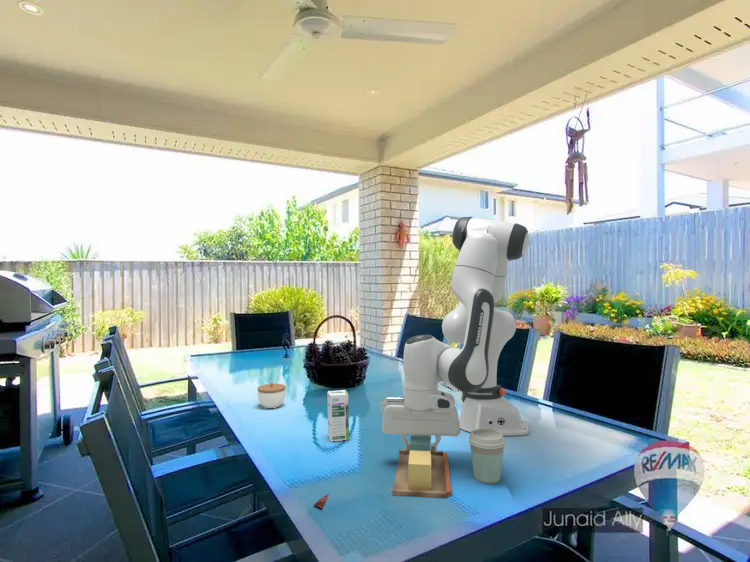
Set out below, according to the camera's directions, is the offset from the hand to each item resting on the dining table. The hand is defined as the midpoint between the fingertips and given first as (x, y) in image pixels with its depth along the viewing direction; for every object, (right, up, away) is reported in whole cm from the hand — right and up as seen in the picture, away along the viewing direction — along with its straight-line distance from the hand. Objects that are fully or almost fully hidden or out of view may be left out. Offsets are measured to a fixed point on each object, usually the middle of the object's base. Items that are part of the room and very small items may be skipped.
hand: (420, 450), depth 113 cm
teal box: (0, -3, 0) cm, 3 cm away
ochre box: (-1, -3, -11) cm, 11 cm away
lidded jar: (-52, -5, +57) cm, 78 cm away
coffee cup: (+15, -5, -8) cm, 18 cm away
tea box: (+26, -5, +86) cm, 90 cm away
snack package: (-20, -6, -15) cm, 26 cm away
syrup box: (-23, -5, +22) cm, 33 cm away
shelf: (-1, -5, -6) cm, 7 cm away
